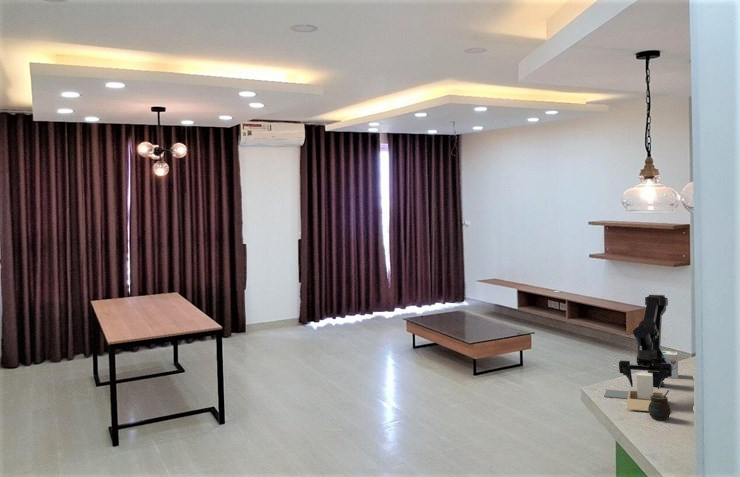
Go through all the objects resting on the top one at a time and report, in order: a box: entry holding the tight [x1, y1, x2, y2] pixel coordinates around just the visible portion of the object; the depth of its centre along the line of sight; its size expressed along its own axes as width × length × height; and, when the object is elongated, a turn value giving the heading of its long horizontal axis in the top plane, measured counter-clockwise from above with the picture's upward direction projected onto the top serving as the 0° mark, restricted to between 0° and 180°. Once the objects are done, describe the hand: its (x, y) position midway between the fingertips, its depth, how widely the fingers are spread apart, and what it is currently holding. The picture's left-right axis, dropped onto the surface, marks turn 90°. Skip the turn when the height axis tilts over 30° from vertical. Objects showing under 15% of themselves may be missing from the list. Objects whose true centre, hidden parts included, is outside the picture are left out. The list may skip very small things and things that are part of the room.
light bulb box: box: [661, 350, 679, 379], centre depth 275 cm, size 11×7×11 cm, turn 62°
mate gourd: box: [647, 389, 672, 421], centre depth 219 cm, size 7×8×10 cm
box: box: [636, 371, 654, 400], centre depth 234 cm, size 4×6×12 cm
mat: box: [603, 389, 629, 400], centre depth 249 cm, size 10×9×1 cm
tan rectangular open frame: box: [626, 389, 664, 412], centre depth 235 cm, size 19×12×4 cm, turn 154°
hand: (645, 387), depth 233 cm, fingers open, 9 cm apart
